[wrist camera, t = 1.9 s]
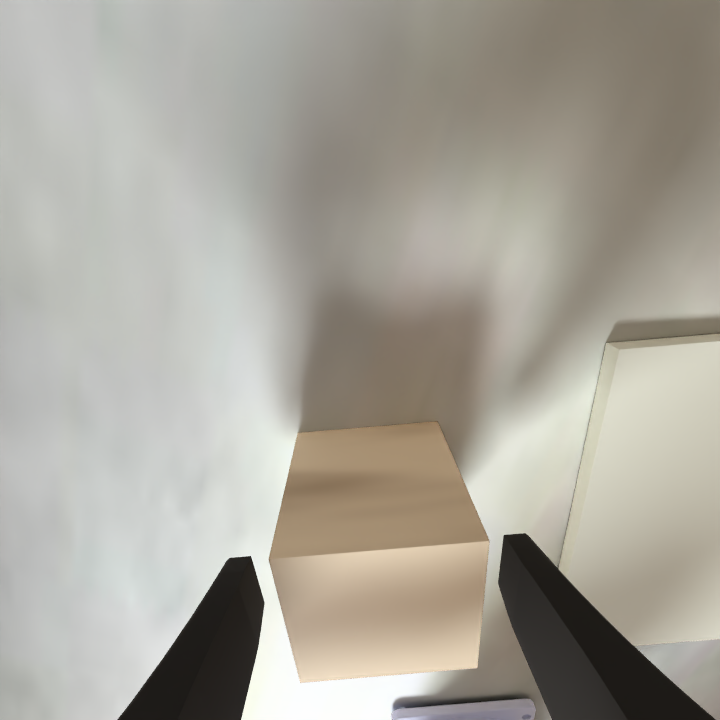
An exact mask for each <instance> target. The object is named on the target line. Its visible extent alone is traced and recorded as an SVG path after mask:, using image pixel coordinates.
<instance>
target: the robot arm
mask: <svg viewBox="0 0 720 720" xmlns="http://www.w3.org/2000/svg"><path fill="white" fill-rule="evenodd" d="M498 584H499V588H500V591H501V594H502V597H503V600H504V603H505V607H506V610H507V613H508V616H509V619H510V622H511V624H512V627H513V630H514V632H515V634H516V637H517V639H518V641H519V644H520V646H521V648H522V651H523V653H524V655H525V658H526V660H527V662H528V665H529V667H530V669H531V672H532V674H533V676H534V679H535V681H536V683H537V685H538V688H539V690H540V692H541V695H542V697H543V699H544V702H545V704H546V706H547V709H548V711H549V713H550V716H551V718H552V720H716V719H714V718H713V717H712V716H711V715H710V714H708V713H707V712H706V711H705V710H704V709H703V708H701V707H700V706H699V705H698V704H697V703H696V702H695V701H693V700H692V699H691V698H690V697H689V696H688V695H687V694H685V693H684V692H683V691H682V690H681V689H680V688H679V687H677V686H676V685H675V684H674V683H673V682H672V681H671V680H670V679H669V678H668V677H666V676H665V675H664V674H663V673H662V672H661V671H660V670H659V669H658V668H657V667H656V666H654V665H653V664H652V663H651V662H650V661H649V660H648V659H647V658H646V657H645V656H644V655H643V654H642V653H641V652H640V651H638V650H637V649H636V648H635V647H634V646H633V645H632V644H631V643H630V642H629V641H628V640H627V639H626V638H625V637H624V636H623V635H622V634H621V633H620V632H619V631H618V630H617V629H616V628H615V627H614V626H613V625H612V624H611V623H610V622H609V621H608V620H607V619H606V618H605V617H604V616H603V615H602V614H601V613H600V612H599V611H598V610H597V609H596V608H595V607H594V606H593V605H592V604H591V603H590V602H589V601H588V600H587V599H586V598H585V597H584V596H583V595H582V594H581V593H580V592H579V591H578V590H577V589H576V588H575V586H574V585H573V584H572V583H571V582H570V581H569V580H568V579H567V578H566V577H565V576H564V575H563V574H562V573H561V571H560V570H559V569H558V568H557V567H556V566H555V565H554V564H553V563H552V562H551V560H550V559H549V558H548V557H547V556H546V555H545V554H544V553H543V552H542V550H541V549H540V548H539V547H538V546H537V545H536V544H535V543H534V542H533V540H532V539H531V538H530V537H529V536H528V535H527V534H526V533H524V534H512V535H504V538H503V547H502V555H501V563H500V572H499V580H498ZM263 610H264V599H263V596H262V593H261V589H260V586H259V582H258V579H257V575H256V572H255V569H254V565H253V562H252V558H251V556H248V557H236V558H229V559H228V560H227V561H226V563H225V565H224V566H223V568H222V569H221V571H220V573H219V574H218V576H217V578H216V579H215V581H214V582H213V584H212V586H211V587H210V589H209V590H208V592H207V593H206V595H205V597H204V598H203V600H202V601H201V603H200V604H199V606H198V607H197V609H196V611H195V612H194V614H193V615H192V617H191V618H190V620H189V621H188V623H187V624H186V626H185V627H184V628H183V630H182V631H181V633H180V634H179V636H178V637H177V639H176V640H175V642H174V643H173V645H172V646H171V648H170V649H169V651H168V652H167V653H166V655H165V656H164V658H163V659H162V660H161V662H160V663H159V665H158V666H157V667H156V669H155V670H154V672H153V673H152V674H151V676H150V677H149V678H148V680H147V681H146V683H145V684H144V685H143V687H142V688H141V689H140V691H139V692H138V694H137V695H136V696H135V698H134V699H133V700H132V702H131V703H130V704H129V706H128V707H127V708H126V709H125V711H124V712H123V713H122V715H121V716H120V717H119V719H118V720H241V717H242V713H243V709H244V705H245V701H246V696H247V692H248V688H249V684H250V680H251V675H252V671H253V667H254V663H255V658H256V654H257V650H258V645H259V638H260V631H261V625H262V617H263ZM535 712H536V708H535V706H534V703H533V701H532V700H530V699H513V700H501V701H489V702H476V703H464V704H452V705H440V706H427V707H415V708H403V709H396V710H394V711H393V712H392V714H391V717H392V720H534V717H535Z"/></svg>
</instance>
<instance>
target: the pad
mask: <svg viewBox="0 0 720 720" xmlns="http://www.w3.org/2000/svg"><path fill="white" fill-rule="evenodd" d="M558 569H559V570H560V571H561V573H562V574H563V575H564V576H565V577H566V578H567V579H568V580H569V581H570V582H571V583H572V584H573V585H574V586H575V588H576V589H577V590H578V591H579V592H580V593H581V594H582V595H583V596H584V597H585V598H586V599H587V600H588V601H589V602H590V603H591V604H592V605H593V606H594V607H595V608H596V609H597V610H598V611H599V612H600V613H601V614H602V615H603V616H604V617H605V618H606V619H607V620H608V621H609V622H610V623H611V624H612V625H613V626H614V627H615V628H616V629H617V630H618V631H619V632H620V633H621V634H622V635H623V636H624V637H625V638H626V639H627V640H628V641H629V642H630V643H631V644H632V645H633V646H640V645H652V644H665V643H677V642H689V641H701V640H713V639H720V334H708V335H696V336H684V337H672V338H660V339H648V340H636V341H624V342H613V343H606V346H605V351H604V356H603V360H602V365H601V370H600V375H599V379H598V384H597V389H596V393H595V398H594V403H593V408H592V412H591V417H590V422H589V426H588V431H587V436H586V441H585V445H584V450H583V455H582V460H581V464H580V469H579V474H578V478H577V483H576V488H575V493H574V497H573V502H572V507H571V511H570V516H569V521H568V526H567V530H566V535H565V540H564V545H563V549H562V554H561V559H560V563H559V568H558Z"/></svg>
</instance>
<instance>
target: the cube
mask: <svg viewBox="0 0 720 720" xmlns="http://www.w3.org/2000/svg"><path fill="white" fill-rule="evenodd" d="M488 551H489V539H488V536H487V534H486V532H485V529H484V527H483V525H482V523H481V520H480V518H479V516H478V513H477V511H476V509H475V506H474V504H473V502H472V500H471V497H470V495H469V493H468V490H467V488H466V486H465V483H464V481H463V479H462V477H461V474H460V472H459V470H458V467H457V465H456V463H455V460H454V458H453V456H452V454H451V451H450V449H449V447H448V444H447V442H446V440H445V437H444V435H443V433H442V431H441V428H440V426H439V424H438V421H435V422H422V423H410V424H398V425H386V426H374V427H362V428H349V429H337V430H325V431H313V432H301V433H298V434H297V439H296V443H295V447H294V452H293V456H292V460H291V465H290V469H289V473H288V478H287V482H286V486H285V491H284V495H283V499H282V504H281V508H280V512H279V517H278V521H277V525H276V530H275V534H274V538H273V543H272V547H271V551H270V556H269V563H270V567H271V570H272V574H273V578H274V582H275V586H276V590H277V594H278V598H279V602H280V605H281V609H282V613H283V617H284V621H285V625H286V629H287V633H288V637H289V640H290V644H291V648H292V652H293V656H294V660H295V664H296V668H297V671H298V675H299V679H300V683H304V682H316V681H328V680H340V679H352V678H364V677H376V676H388V675H400V674H412V673H424V672H436V671H448V670H460V669H472V668H477V666H478V656H479V645H480V635H481V624H482V614H483V604H484V593H485V583H486V572H487V562H488Z"/></svg>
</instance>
